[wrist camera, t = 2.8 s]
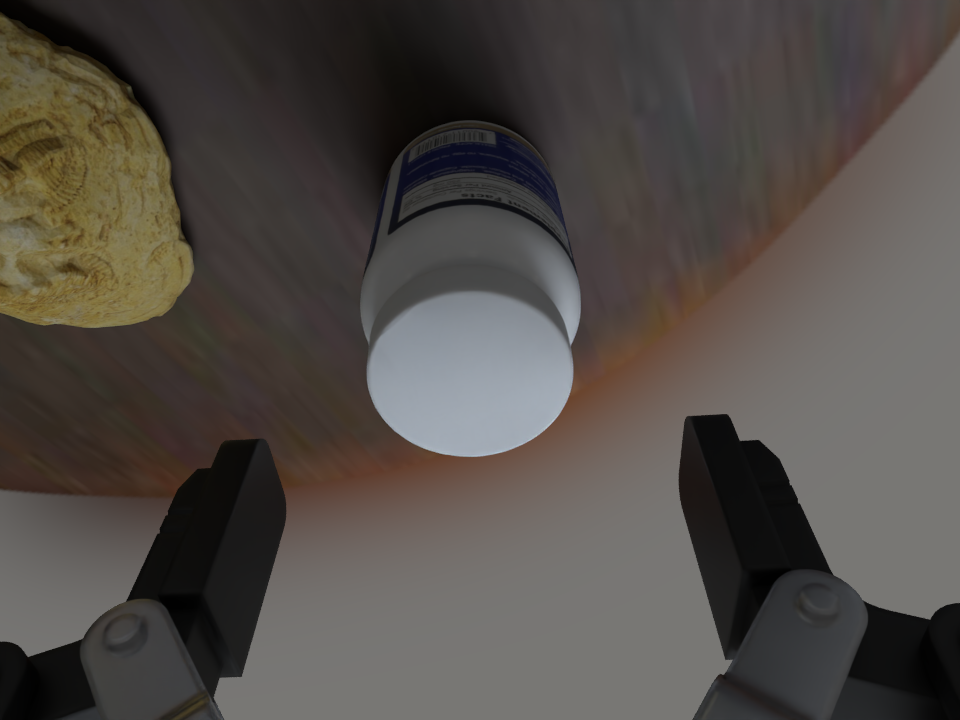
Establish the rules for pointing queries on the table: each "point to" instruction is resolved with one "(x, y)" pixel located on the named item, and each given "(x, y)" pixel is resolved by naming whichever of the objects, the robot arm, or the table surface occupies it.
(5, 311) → the fossil
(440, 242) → the pill bottle
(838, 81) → the table surface
